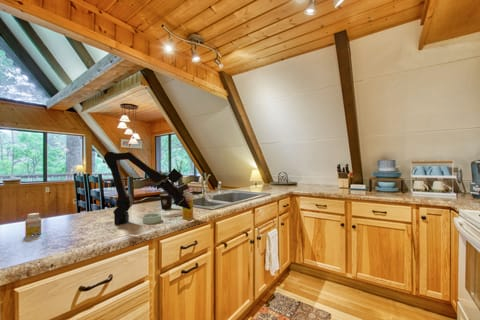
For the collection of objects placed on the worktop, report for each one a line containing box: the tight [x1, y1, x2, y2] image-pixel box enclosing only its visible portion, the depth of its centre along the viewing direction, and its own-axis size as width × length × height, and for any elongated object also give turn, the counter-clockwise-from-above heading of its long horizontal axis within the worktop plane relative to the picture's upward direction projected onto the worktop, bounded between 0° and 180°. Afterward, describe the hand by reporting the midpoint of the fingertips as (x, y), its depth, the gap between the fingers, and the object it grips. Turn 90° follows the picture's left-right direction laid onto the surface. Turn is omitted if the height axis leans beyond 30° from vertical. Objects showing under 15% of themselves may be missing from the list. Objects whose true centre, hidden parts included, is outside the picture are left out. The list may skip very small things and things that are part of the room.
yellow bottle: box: [181, 192, 194, 221], centre depth 127 cm, size 6×6×15 cm
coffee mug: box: [159, 193, 175, 211], centre depth 156 cm, size 12×9×10 cm
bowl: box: [141, 212, 162, 225], centre depth 121 cm, size 9×9×4 cm
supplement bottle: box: [24, 212, 42, 237], centre depth 102 cm, size 5×5×10 cm
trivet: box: [161, 209, 182, 218], centre depth 136 cm, size 12×12×2 cm
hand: (190, 207), depth 127 cm, fingers open, 8 cm apart
